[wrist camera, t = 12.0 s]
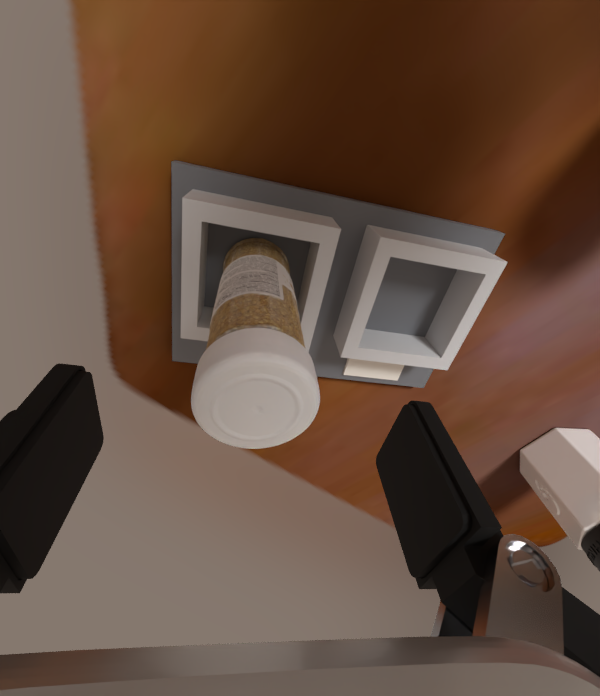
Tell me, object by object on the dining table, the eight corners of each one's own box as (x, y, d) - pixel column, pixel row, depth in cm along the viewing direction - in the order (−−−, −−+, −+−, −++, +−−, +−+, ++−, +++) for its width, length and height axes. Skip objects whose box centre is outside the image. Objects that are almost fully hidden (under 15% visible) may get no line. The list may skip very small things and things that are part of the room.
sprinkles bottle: (286, 300, 24) (313, 453, 13) (222, 297, 23) (193, 455, 12) (292, 237, 21) (332, 360, 10) (221, 231, 21) (182, 356, 10)
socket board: (175, 160, 19) (157, 166, 16) (496, 230, 23) (534, 246, 20) (174, 353, 27) (162, 385, 23) (419, 380, 31) (438, 411, 27)
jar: (517, 438, 37) (610, 550, 27) (592, 415, 36) (717, 523, 26) (516, 480, 42) (595, 589, 32) (582, 461, 41) (685, 567, 31)
